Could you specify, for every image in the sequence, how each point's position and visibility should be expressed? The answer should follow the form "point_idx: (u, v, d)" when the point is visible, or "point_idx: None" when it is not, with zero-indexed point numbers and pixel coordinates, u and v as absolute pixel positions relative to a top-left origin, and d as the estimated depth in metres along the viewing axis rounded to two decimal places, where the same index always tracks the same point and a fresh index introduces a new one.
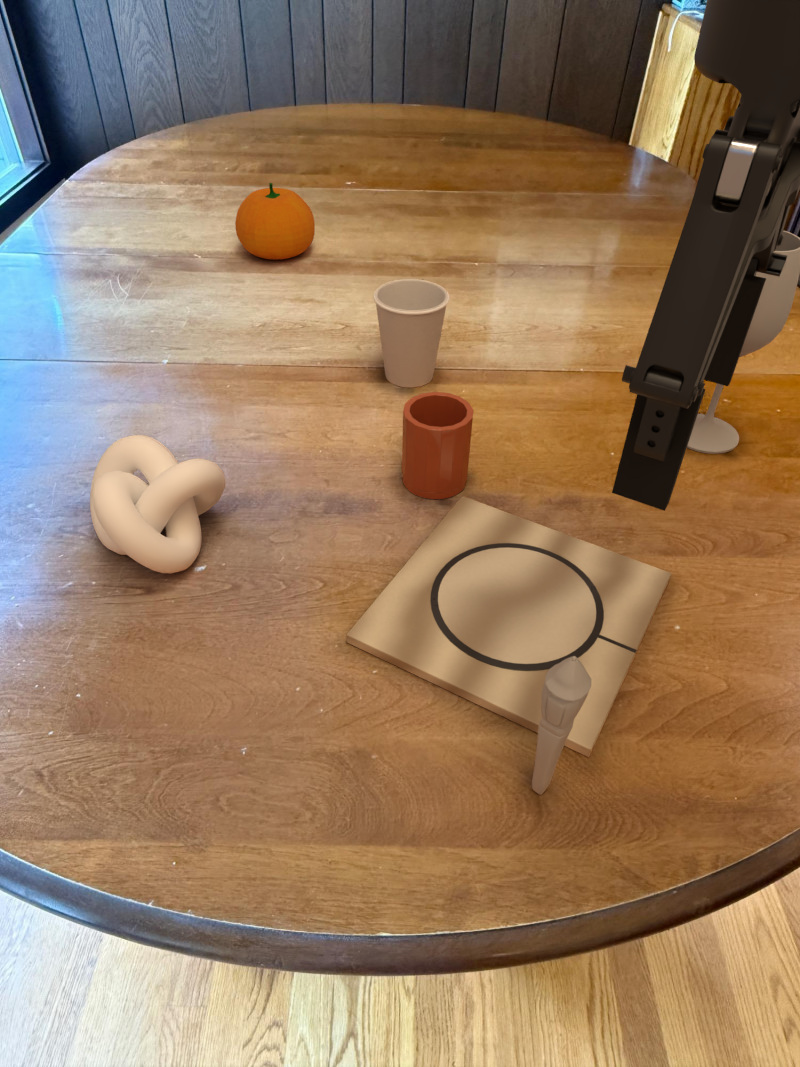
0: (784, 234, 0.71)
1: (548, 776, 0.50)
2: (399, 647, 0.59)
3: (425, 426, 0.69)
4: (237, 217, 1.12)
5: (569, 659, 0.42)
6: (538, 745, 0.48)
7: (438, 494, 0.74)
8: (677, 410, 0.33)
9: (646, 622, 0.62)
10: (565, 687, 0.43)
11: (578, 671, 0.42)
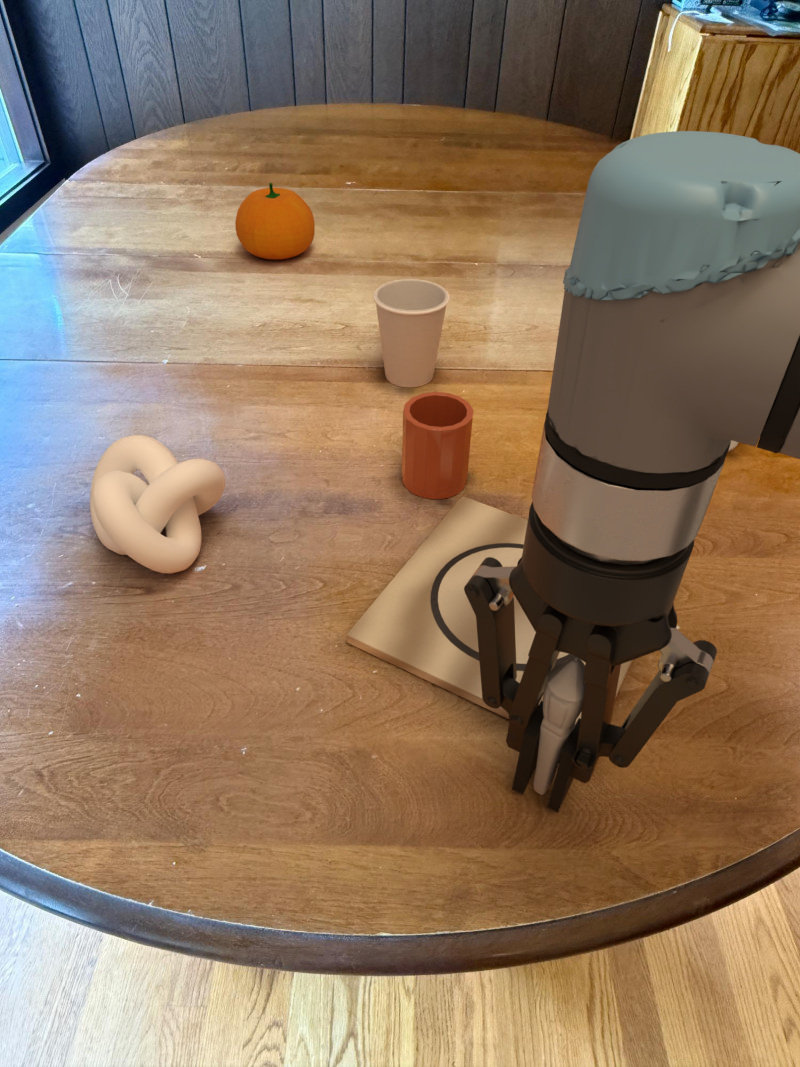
0: None
1: (550, 777, 0.49)
2: (399, 647, 0.59)
3: (425, 426, 0.69)
4: (237, 217, 1.12)
5: (571, 660, 0.42)
6: (540, 746, 0.48)
7: (438, 494, 0.74)
8: None
9: None
10: (567, 688, 0.43)
11: (580, 672, 0.42)
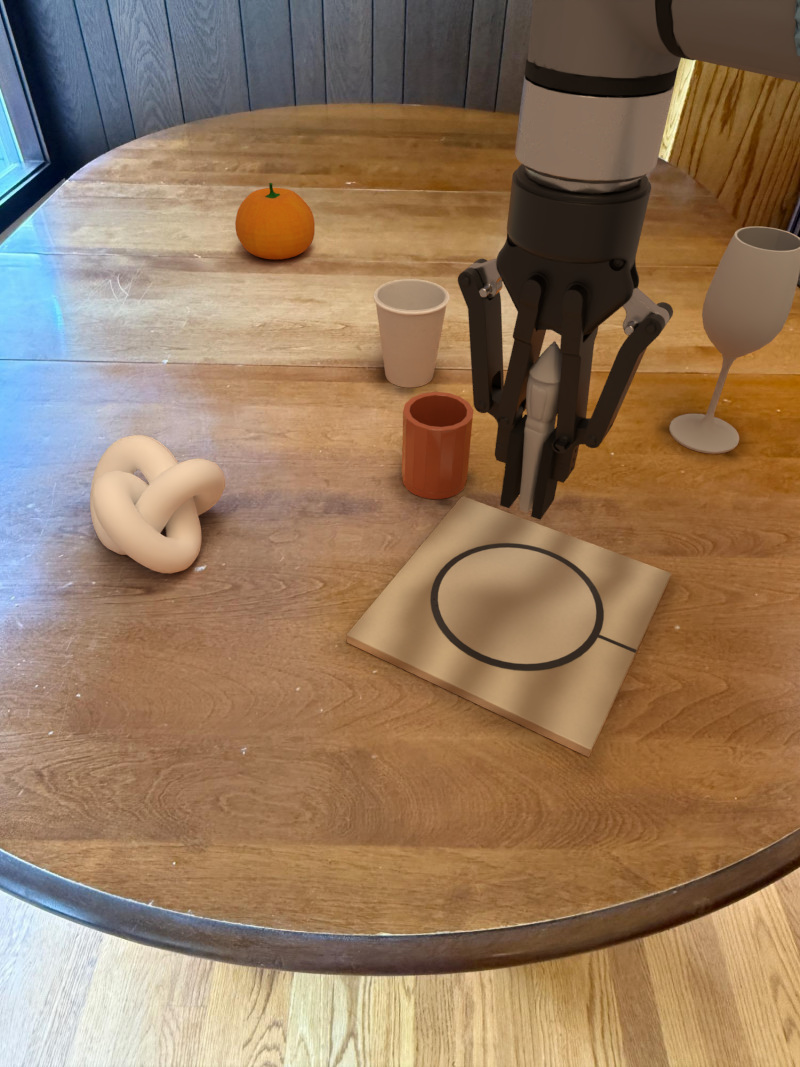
0: (784, 234, 0.71)
1: (533, 487, 0.56)
2: (399, 647, 0.59)
3: (425, 426, 0.69)
4: (237, 217, 1.12)
5: (550, 345, 0.49)
6: (524, 450, 0.54)
7: (438, 494, 0.74)
8: (498, 426, 0.54)
9: (646, 622, 0.62)
10: (546, 370, 0.49)
11: (558, 355, 0.49)
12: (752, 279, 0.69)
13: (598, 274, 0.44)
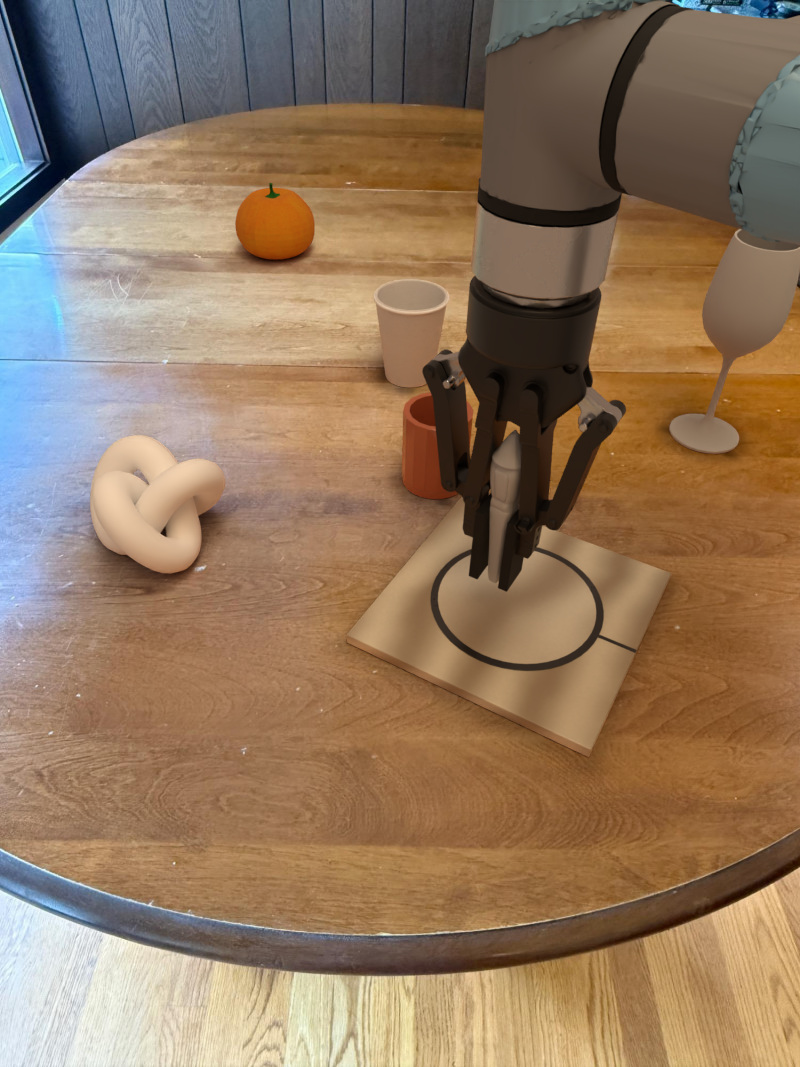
0: None
1: (500, 561, 0.58)
2: (399, 647, 0.59)
3: (425, 426, 0.69)
4: (237, 217, 1.12)
5: (511, 433, 0.51)
6: (490, 527, 0.56)
7: (438, 494, 0.74)
8: (465, 504, 0.56)
9: (646, 622, 0.62)
10: (508, 457, 0.51)
11: (518, 443, 0.51)
12: (752, 279, 0.69)
13: (552, 375, 0.46)
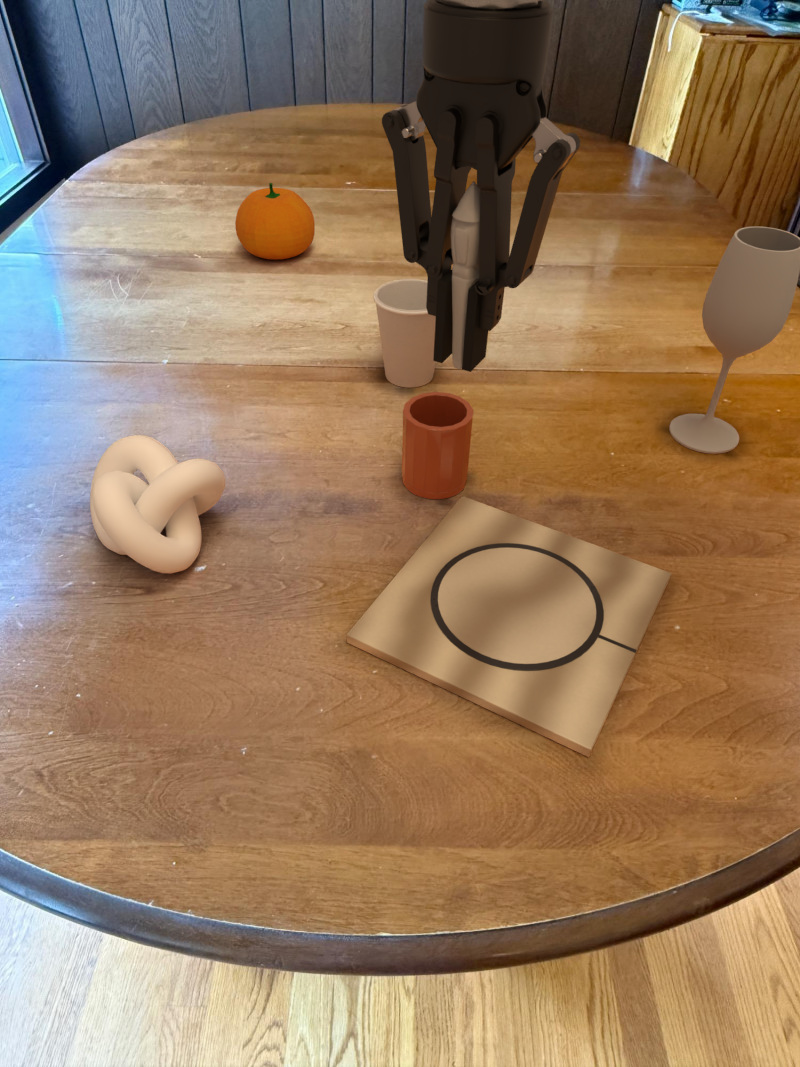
0: (784, 234, 0.71)
1: None
2: (399, 647, 0.59)
3: (425, 426, 0.69)
4: (237, 217, 1.12)
5: (470, 185, 0.52)
6: (453, 300, 0.57)
7: (438, 494, 0.74)
8: (428, 277, 0.57)
9: (646, 622, 0.62)
10: (467, 210, 0.52)
11: (477, 195, 0.52)
12: (752, 279, 0.69)
13: (507, 101, 0.47)
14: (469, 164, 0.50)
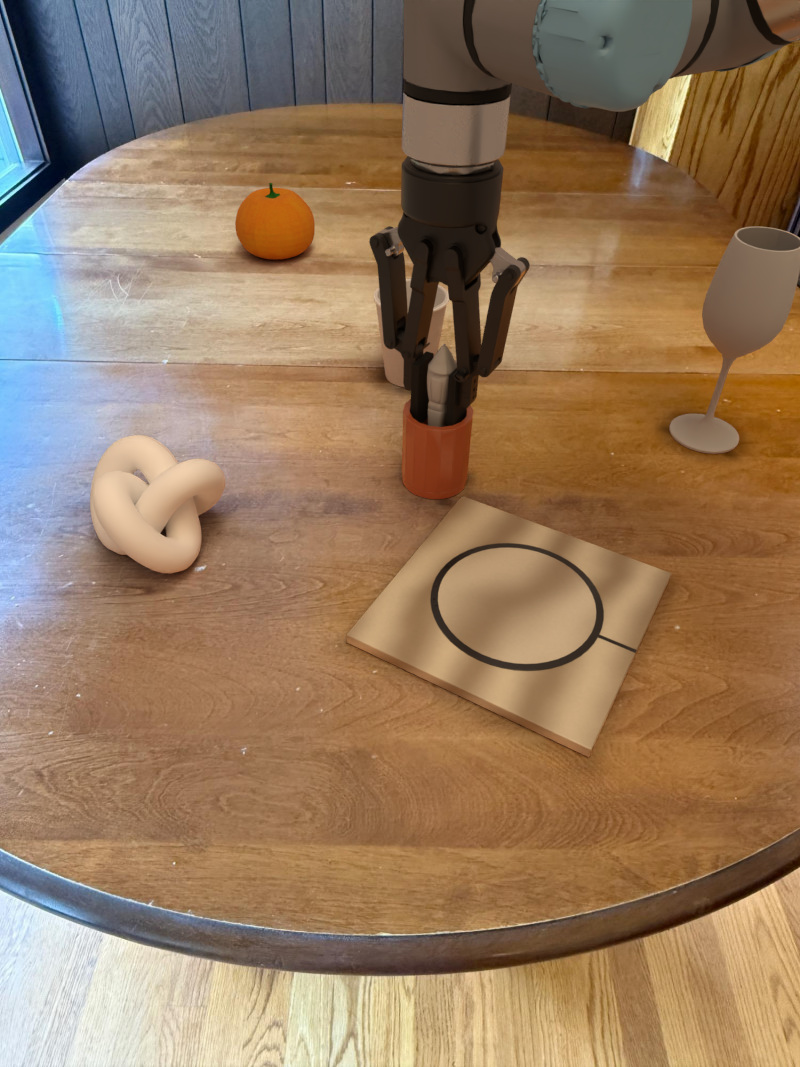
0: (784, 234, 0.71)
1: None
2: (399, 647, 0.59)
3: (425, 426, 0.69)
4: (237, 217, 1.12)
5: (441, 346, 0.67)
6: None
7: (438, 494, 0.74)
8: (404, 360, 0.69)
9: (646, 622, 0.62)
10: (441, 365, 0.67)
11: (447, 353, 0.67)
12: (752, 279, 0.69)
13: (468, 237, 0.58)
14: (440, 280, 0.62)
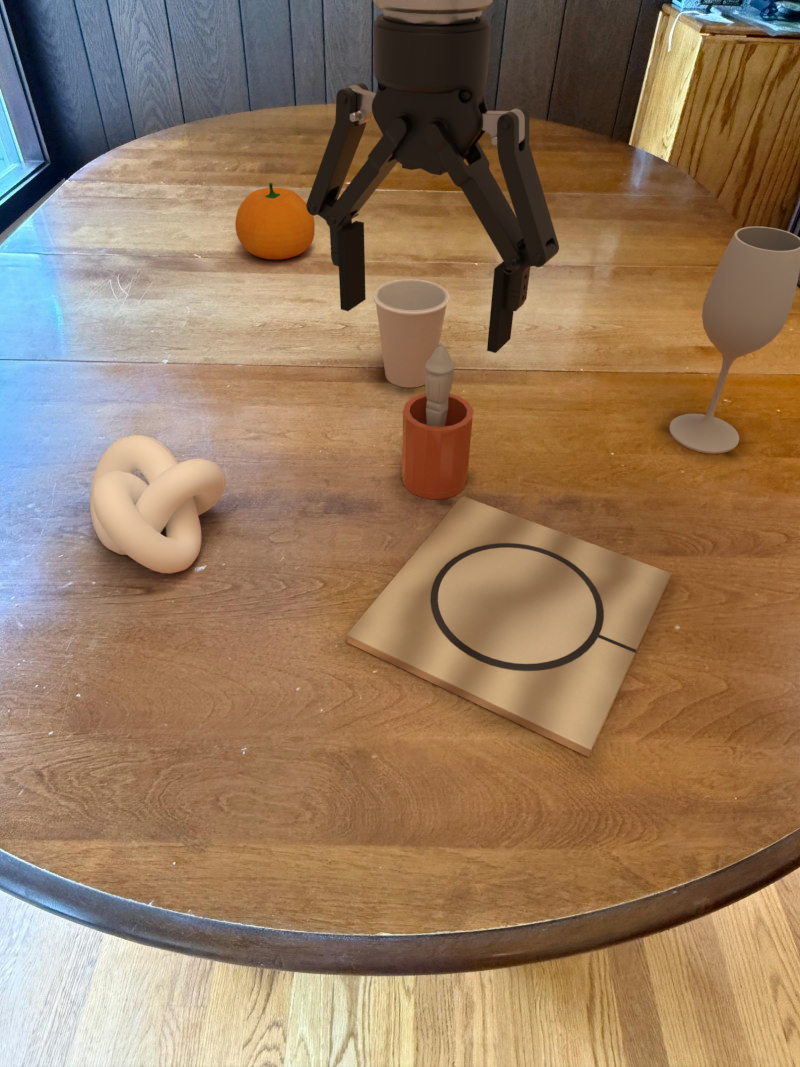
0: (784, 234, 0.71)
1: None
2: (399, 647, 0.59)
3: (425, 426, 0.69)
4: (237, 217, 1.12)
5: (438, 346, 0.67)
6: None
7: (438, 494, 0.74)
8: (330, 229, 0.62)
9: (646, 622, 0.62)
10: (438, 364, 0.67)
11: (444, 353, 0.67)
12: (752, 279, 0.69)
13: (447, 118, 0.51)
14: (421, 166, 0.54)
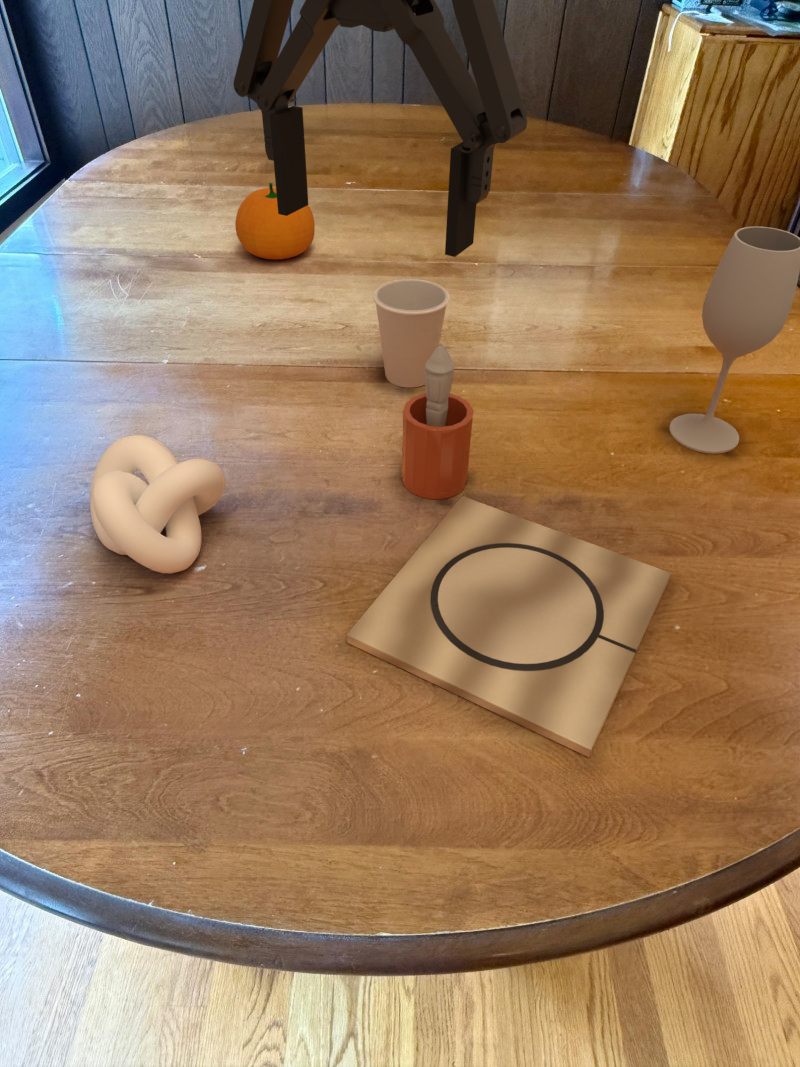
0: (784, 234, 0.71)
1: None
2: (399, 647, 0.59)
3: (425, 426, 0.69)
4: (237, 217, 1.12)
5: (438, 346, 0.67)
6: None
7: (438, 494, 0.74)
8: (262, 114, 0.53)
9: (646, 622, 0.62)
10: (438, 364, 0.67)
11: (444, 353, 0.67)
12: (752, 279, 0.69)
13: None
14: (362, 22, 0.45)
